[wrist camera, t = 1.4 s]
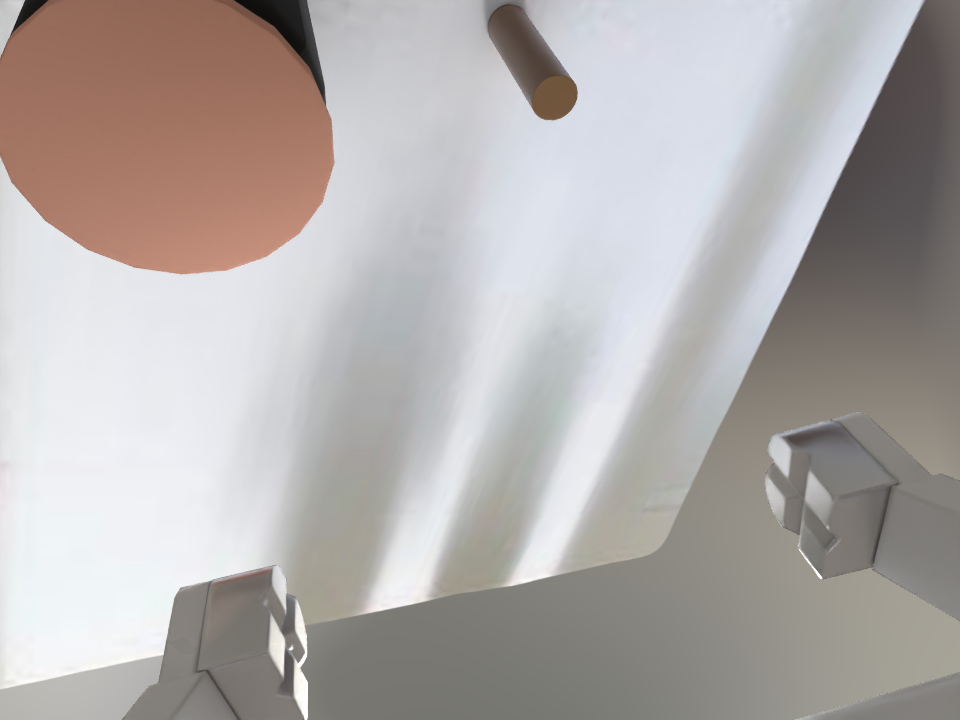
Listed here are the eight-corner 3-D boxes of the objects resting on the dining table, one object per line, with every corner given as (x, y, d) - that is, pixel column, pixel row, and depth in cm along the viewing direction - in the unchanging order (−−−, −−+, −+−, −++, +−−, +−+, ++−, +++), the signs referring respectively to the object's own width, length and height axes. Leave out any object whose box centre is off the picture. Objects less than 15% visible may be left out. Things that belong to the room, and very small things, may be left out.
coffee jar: (11, -92, 33) (-105, 92, 21) (212, -214, 32) (208, -90, 20) (170, 102, 41) (151, 316, 29) (337, 11, 40) (388, 197, 28)
